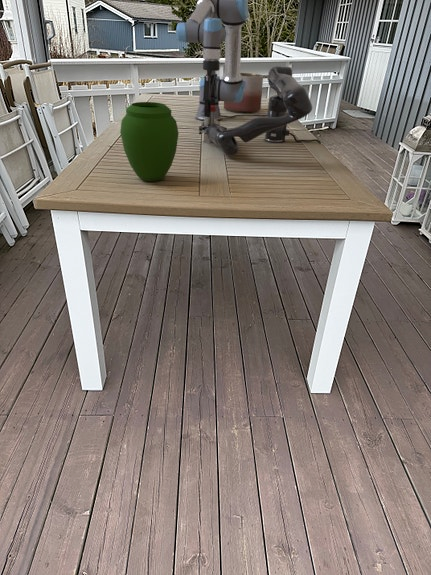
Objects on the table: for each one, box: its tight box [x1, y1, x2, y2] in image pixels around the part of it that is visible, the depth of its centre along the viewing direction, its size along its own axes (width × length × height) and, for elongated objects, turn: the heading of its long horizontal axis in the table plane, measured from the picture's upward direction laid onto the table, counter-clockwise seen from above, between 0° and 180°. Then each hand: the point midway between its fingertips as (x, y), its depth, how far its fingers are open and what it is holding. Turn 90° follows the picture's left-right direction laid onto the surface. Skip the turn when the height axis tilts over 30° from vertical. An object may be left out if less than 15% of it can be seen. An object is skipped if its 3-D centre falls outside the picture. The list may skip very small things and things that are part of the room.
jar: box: [203, 112, 215, 144], centre depth 195 cm, size 5×5×16 cm
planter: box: [223, 72, 264, 114], centre depth 276 cm, size 25×25×22 cm
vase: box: [119, 101, 179, 182], centre depth 140 cm, size 20×20×24 cm
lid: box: [204, 105, 216, 112], centre depth 191 cm, size 6×6×2 cm
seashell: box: [201, 118, 221, 126], centre depth 215 cm, size 10×6×8 cm, turn 97°
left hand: (209, 115), depth 192 cm, fingers open, 8 cm apart
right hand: (207, 126), depth 198 cm, fingers closed on jar, 5 cm apart
